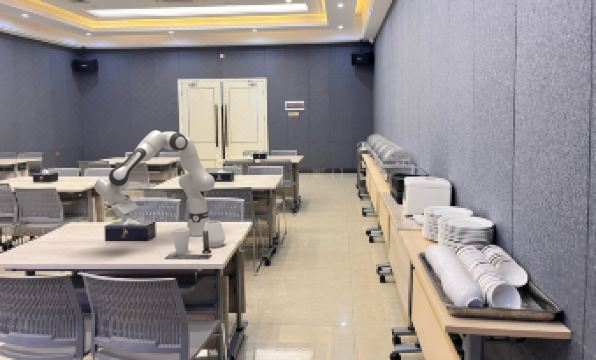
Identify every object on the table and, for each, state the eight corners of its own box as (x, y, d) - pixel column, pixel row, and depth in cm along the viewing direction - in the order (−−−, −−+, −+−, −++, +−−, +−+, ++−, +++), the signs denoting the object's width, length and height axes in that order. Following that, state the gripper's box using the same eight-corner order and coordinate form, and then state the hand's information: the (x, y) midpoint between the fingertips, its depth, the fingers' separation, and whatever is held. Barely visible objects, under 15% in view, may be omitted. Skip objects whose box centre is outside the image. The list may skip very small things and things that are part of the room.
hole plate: (169, 255, 285) (169, 254, 285) (212, 255, 282) (212, 254, 282) (164, 259, 278) (164, 257, 278) (208, 259, 275) (208, 257, 275)
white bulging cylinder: (229, 243, 308) (228, 220, 307) (219, 249, 296) (218, 224, 294) (208, 242, 312) (207, 219, 310) (198, 248, 299) (197, 224, 298)
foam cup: (176, 255, 284) (175, 232, 282) (170, 252, 292) (169, 229, 290) (193, 252, 289) (191, 229, 287) (187, 249, 297) (186, 227, 295)
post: (203, 251, 292) (202, 230, 290) (212, 251, 291) (211, 230, 290) (200, 253, 287) (199, 232, 285) (209, 253, 286) (208, 232, 285)
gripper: (113, 200, 280) (131, 218, 281) (129, 194, 301) (147, 211, 301) (106, 208, 282) (124, 226, 282) (122, 202, 302) (140, 219, 302)
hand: (136, 218), depth 291 cm, fingers closed
